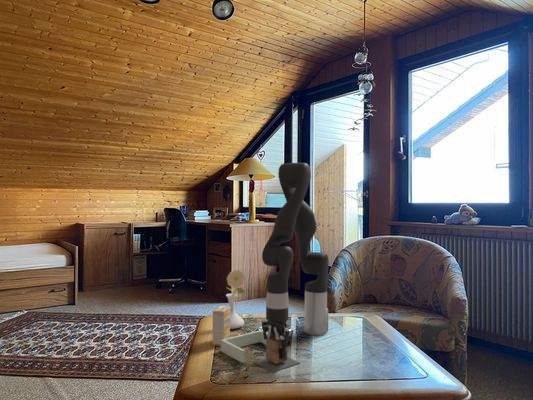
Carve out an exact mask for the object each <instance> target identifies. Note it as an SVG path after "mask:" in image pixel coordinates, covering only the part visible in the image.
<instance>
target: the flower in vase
mask: <svg viewBox="0 0 533 400" xmlns="http://www.w3.org/2000/svg"><path fill="white" fill-rule="evenodd" d="M246 279H247V278H246V275H245V272H244V271H242V270H240V269H236V270H235V269H234V270H232V271H230V272H229V273H228V275H227V276H226V282H227V285H228V286H230V287H232V288H234V289H235V290H234V291H233V290H232V289H231V288H229V287H227V289H228V290H229V291H232V292H233V293H227V294H225V297H226V298H227V301H228V306H230V330H234V329H238V328H241V327H243V326H244V325H245V321H244V319H243V318H242V317H241V316H240V315H238V314H237V313H236V312H235V301H236V298H237V297H238V294H244V293H246V291H245V289H244V288H243V287H242V286H243V284H244V282H245V281H246ZM236 292H237V293H238V294H237V293H236Z"/></svg>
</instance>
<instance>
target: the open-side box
mask: <svg viewBox="0 0 533 400" xmlns="http://www.w3.org/2000/svg"><path fill="white" fill-rule="evenodd" d="M267 334H268V332H266V335H267ZM257 343H261V344H263V345H265V346H266V340H265V339H264V336H263V330H258V331H253V332H252V331H251V332H248V333H244V334H240V335H236V336H230V338H227V339H223V340H221V346H220V352H221V353H224V354H226V355H227V356H229V357H231V358H232V359H234V360H236V361H238V362H240V363H242V364H243V363H246V350H245V349H244V348H242V347H246V346H250V345H254V344H257Z"/></svg>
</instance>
